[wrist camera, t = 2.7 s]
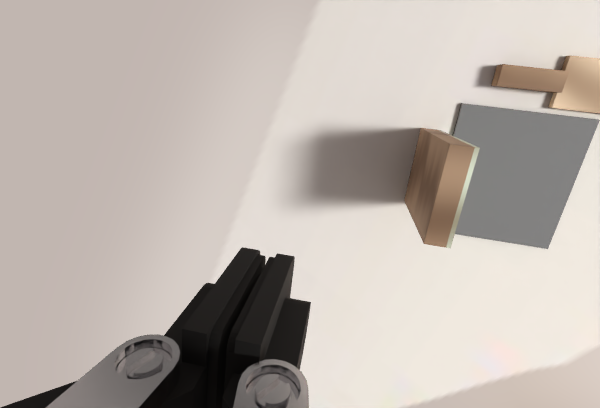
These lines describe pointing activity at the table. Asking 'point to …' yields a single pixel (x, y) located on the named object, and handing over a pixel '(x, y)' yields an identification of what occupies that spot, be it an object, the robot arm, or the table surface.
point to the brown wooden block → (439, 184)
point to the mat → (520, 171)
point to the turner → (558, 82)
